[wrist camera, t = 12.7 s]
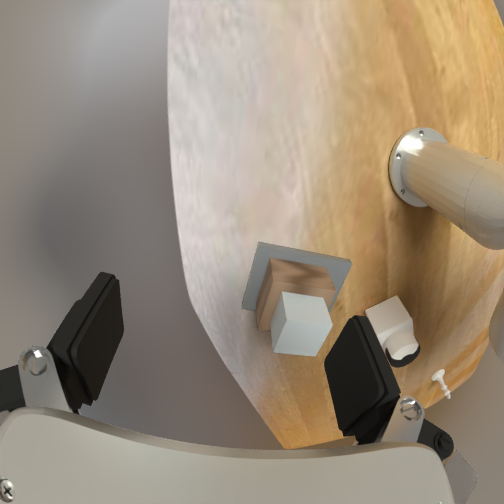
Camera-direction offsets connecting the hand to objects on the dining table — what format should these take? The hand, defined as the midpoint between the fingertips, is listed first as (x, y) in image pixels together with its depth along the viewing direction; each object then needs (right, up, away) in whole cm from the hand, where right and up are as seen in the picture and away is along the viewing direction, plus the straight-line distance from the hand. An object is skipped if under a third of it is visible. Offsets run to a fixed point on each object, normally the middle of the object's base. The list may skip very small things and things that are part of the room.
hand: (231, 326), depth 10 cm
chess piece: (+58, -35, +53) cm, 86 cm away
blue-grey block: (+7, -5, +27) cm, 29 cm away
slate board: (+8, -2, +34) cm, 35 cm away
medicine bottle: (+26, -9, +38) cm, 47 cm away
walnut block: (+7, -3, +33) cm, 33 cm away
